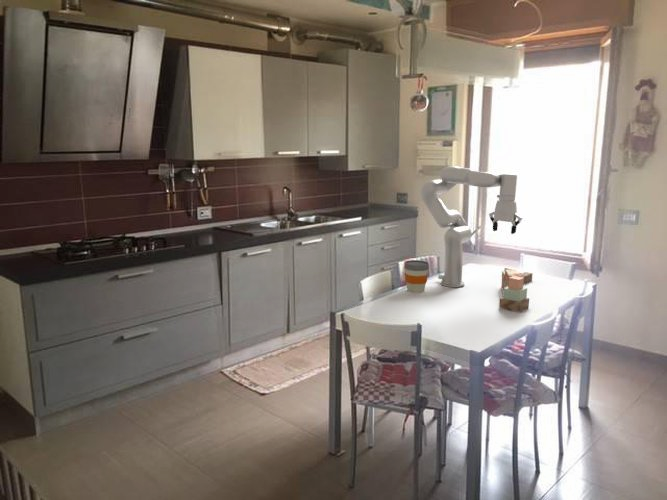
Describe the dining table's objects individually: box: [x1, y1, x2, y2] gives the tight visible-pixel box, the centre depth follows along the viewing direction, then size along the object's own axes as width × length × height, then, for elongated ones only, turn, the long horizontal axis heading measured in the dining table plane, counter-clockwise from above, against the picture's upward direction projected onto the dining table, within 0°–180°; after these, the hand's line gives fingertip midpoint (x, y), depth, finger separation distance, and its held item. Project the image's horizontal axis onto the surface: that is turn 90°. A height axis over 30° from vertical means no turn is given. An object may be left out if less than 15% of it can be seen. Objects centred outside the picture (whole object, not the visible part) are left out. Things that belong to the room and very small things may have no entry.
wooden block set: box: [503, 267, 533, 285], centre depth 308 cm, size 17×6×18 cm
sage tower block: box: [502, 286, 528, 302], centre depth 258 cm, size 8×8×5 cm
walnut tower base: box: [498, 296, 530, 313], centre depth 259 cm, size 10×10×5 cm
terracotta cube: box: [508, 276, 524, 290], centre depth 257 cm, size 5×5×5 cm
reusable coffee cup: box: [404, 259, 430, 294], centre depth 285 cm, size 13×13×15 cm
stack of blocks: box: [501, 269, 522, 291], centre depth 283 cm, size 21×6×12 cm, turn 171°
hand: (503, 232), depth 275 cm, fingers open, 9 cm apart
